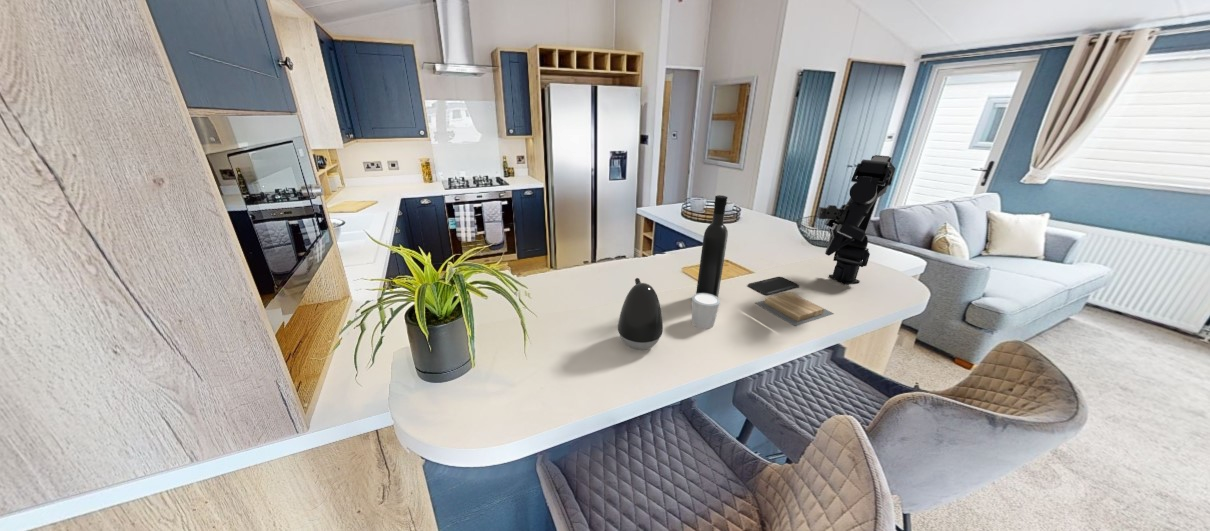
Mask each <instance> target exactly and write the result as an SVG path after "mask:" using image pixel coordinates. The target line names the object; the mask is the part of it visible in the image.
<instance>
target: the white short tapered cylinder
mask: <svg viewBox="0 0 1210 531" xmlns="http://www.w3.org/2000/svg"><path fill="white" fill-rule="evenodd" d="M720 303H721V299H720V298H719V296H718V297H716V296H714V295H712V294H708V293H697V294H696V293H695V294H693V295H692V297H691V324H692V325H693V326H695V328H698V329H705V330H709V329H712V328H714V326H715V322H716V319H717V316H718V315H717V314H718V312H719V308H720V305H721V304H720Z"/></svg>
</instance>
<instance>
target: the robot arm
mask: <svg viewBox="0 0 1210 531" xmlns="http://www.w3.org/2000/svg"><path fill="white" fill-rule="evenodd" d="M895 173H896V167H895V166H894V165H893V164H892V157H890V155H880V154H879V155H878V154H877V155H876V154H874V155H872V156H871V158H870V159H862V160H861V162H860V163H859V162H858V163H857V165H856V167H855V170H854V172H853V175H852V177H851V180H850V182H851V183H854V184H852V186H851V187H850V189H849V200H848V201H847V202H846V204H845V203H844V204H842V205H840V208H839V207H837V205H831V204H828V206H827V207H825V206H818V208H817V215H816V218H817V219H819V220H826V221H825V222H824V226H827V231H828V232H829V239H828V243H827V247H826V249H825V251H824V252H825V253H824V254H825V255H827V256H831V255H832V254H834V255H833V260H832V261H833V262H835V263H836V264H835V265H834V269H833V273H832V274H828V277H829V278H831V279H833V280H836V281H837V282H839V283H841V284H843V285H846V284H847V285H849V284H857V283H860V282H861V280H859V279H857V276H858V273H859V271H860V268H864V267H867V265H868V262H869V258H870V255H871V254H870V252H869V248H868V244H869V239H868V236H867V234H866V233H867V230H868V228H869V225H870V221H871V219H872V217H873V214H874V211H875V208H876V205H877V201H878V199H879V198H880V197H881V196H883V195H884V194H885V193H887V190H888V187H891V185H892V182H893V181H894V180H893V179H894V176H895Z"/></svg>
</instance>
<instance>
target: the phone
mask: <svg viewBox="0 0 1210 531" xmlns="http://www.w3.org/2000/svg"><path fill="white" fill-rule="evenodd" d="M747 287H749V288H750V289H753V290H755V291H756V292H758V293H760V294H762V295H764V296H771V295H776V294H779V293H783V292H787V291H790V290H793V289H797V288H799V287H800V284H798V283H796V282H794V281H791V280H790V279H787V278H785V277H783V276H775V277H772V278H768V279H767V278H766V279H763V280H758V281H754V282H750V283H747Z"/></svg>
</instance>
